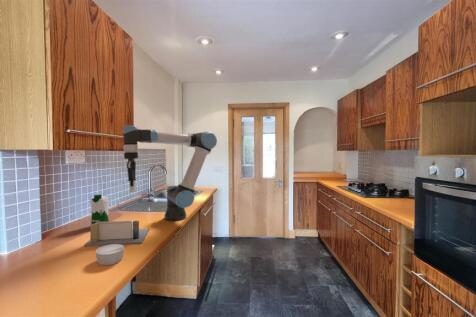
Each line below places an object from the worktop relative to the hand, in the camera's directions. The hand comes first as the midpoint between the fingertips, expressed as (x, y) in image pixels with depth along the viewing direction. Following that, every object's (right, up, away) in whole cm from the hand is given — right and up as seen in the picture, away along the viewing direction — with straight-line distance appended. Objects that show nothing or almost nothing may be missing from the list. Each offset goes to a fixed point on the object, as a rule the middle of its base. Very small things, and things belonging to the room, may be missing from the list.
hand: (132, 191), depth 146 cm
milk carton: (-24, -23, +8) cm, 34 cm away
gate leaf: (-2, -22, -17) cm, 28 cm away
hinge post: (+8, -24, -15) cm, 30 cm away
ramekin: (+8, -25, -40) cm, 48 cm away
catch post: (-10, -24, -21) cm, 33 cm away
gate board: (-2, -24, -12) cm, 27 cm away
